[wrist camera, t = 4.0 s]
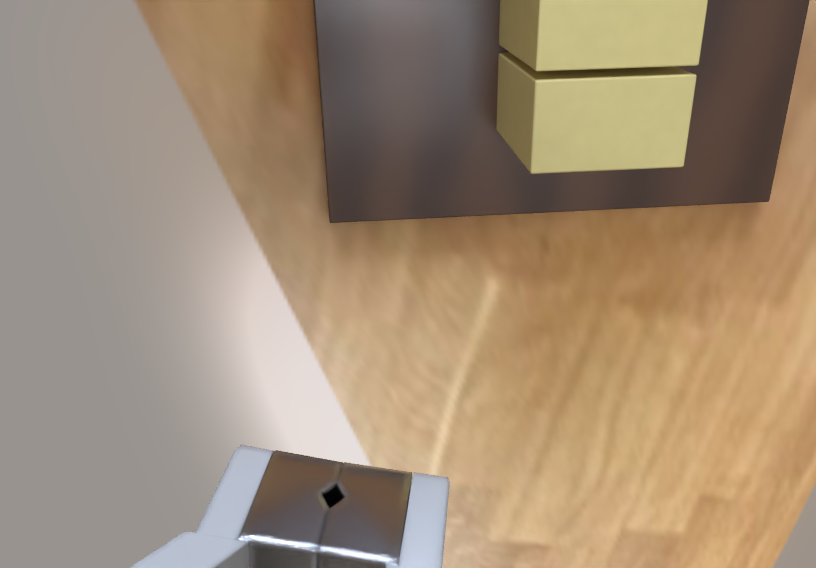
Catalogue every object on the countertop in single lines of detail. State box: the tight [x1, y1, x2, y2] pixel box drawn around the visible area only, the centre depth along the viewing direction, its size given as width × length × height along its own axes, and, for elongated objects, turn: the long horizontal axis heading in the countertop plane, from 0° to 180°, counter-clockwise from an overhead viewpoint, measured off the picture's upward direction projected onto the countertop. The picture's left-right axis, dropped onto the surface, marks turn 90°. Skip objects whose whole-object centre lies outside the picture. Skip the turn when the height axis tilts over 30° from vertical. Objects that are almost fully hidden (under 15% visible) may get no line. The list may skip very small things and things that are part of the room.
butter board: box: [314, 0, 809, 223], centre depth 33 cm, size 22×16×1 cm
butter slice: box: [496, 52, 697, 174], centre depth 30 cm, size 6×4×7 cm, turn 91°
